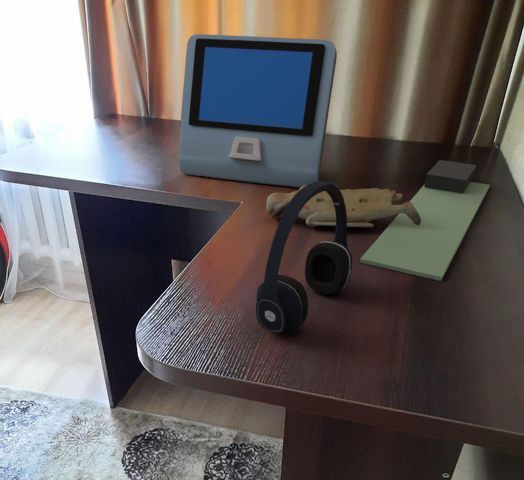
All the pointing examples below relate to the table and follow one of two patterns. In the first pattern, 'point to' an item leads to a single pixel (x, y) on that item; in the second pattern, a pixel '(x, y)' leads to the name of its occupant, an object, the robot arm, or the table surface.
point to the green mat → (427, 232)
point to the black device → (450, 176)
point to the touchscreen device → (256, 108)
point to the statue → (357, 207)
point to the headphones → (316, 267)
